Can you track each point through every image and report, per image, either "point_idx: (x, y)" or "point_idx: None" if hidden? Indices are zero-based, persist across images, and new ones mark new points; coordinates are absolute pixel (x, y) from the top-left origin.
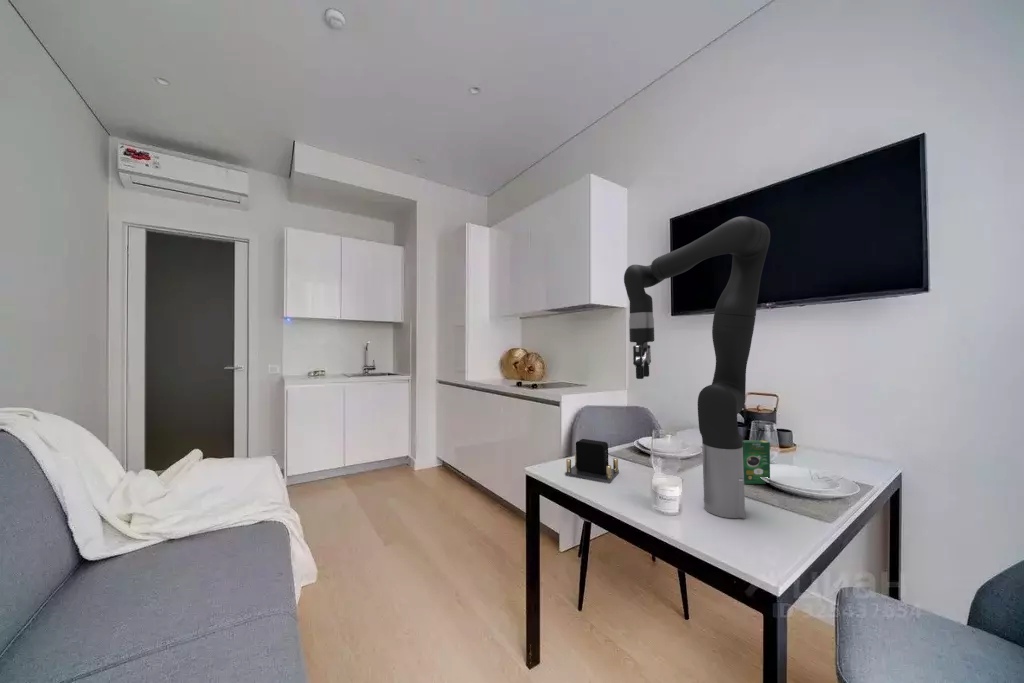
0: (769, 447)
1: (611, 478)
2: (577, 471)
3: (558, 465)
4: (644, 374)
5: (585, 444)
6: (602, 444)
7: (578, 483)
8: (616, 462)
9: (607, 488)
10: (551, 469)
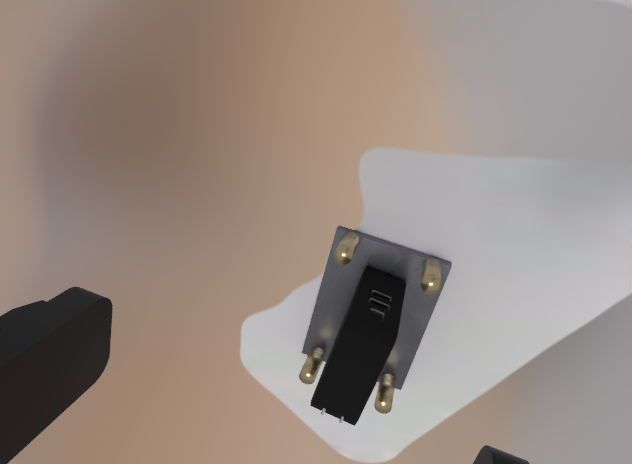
0: None
1: (435, 259)
2: None
3: None
4: (87, 362)
5: (370, 394)
6: (383, 340)
7: (464, 351)
8: (353, 250)
9: (497, 271)
10: None
